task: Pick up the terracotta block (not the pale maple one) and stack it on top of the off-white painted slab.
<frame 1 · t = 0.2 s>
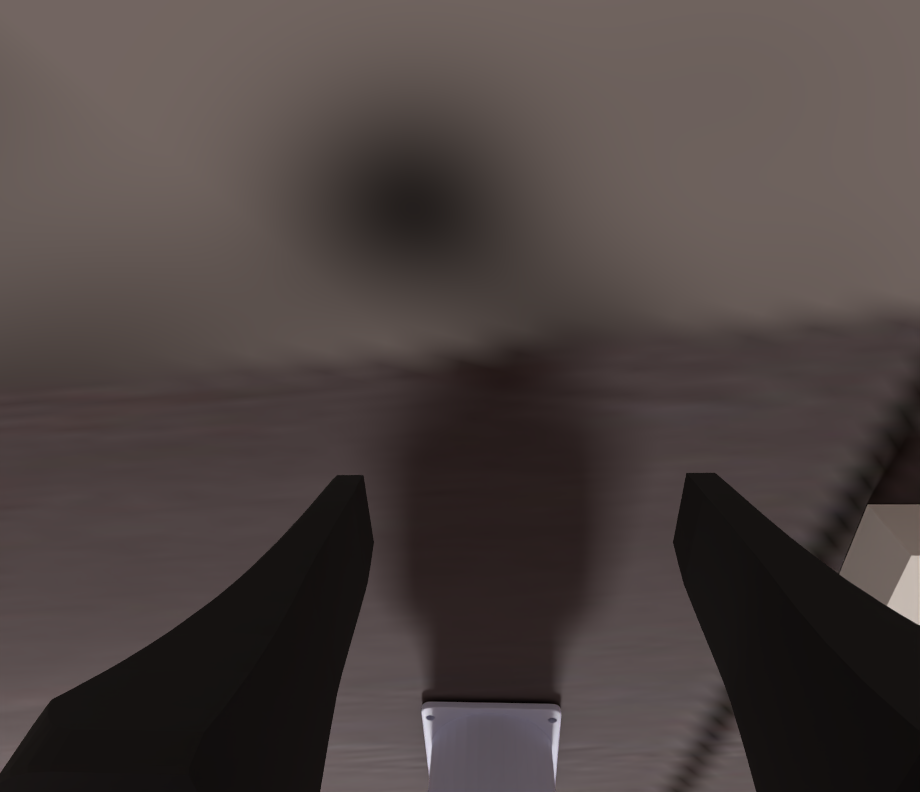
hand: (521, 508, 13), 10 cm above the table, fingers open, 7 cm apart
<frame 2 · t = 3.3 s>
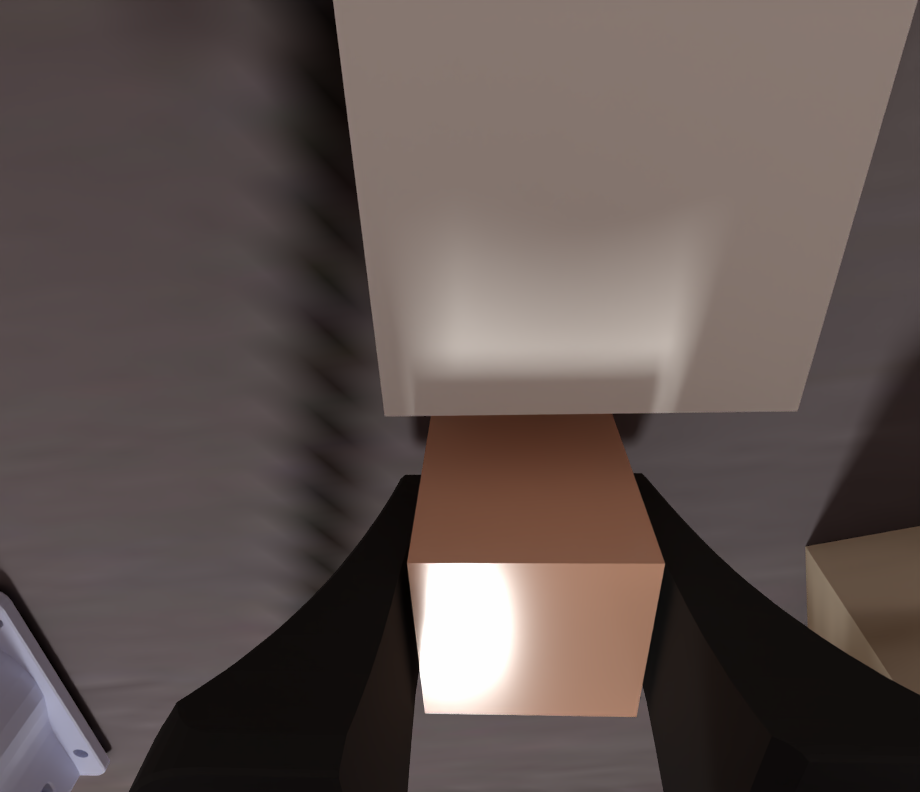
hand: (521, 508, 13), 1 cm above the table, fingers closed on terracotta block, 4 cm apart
slab: (575, 169, 11), on the table
maple block: (884, 583, 16), on the table
terracotta block: (518, 470, 14), on the table, touching gripper
when the fingers open (5 cm above the table, at t = 6.2 s): terracotta block stays where it is, resting on slab.
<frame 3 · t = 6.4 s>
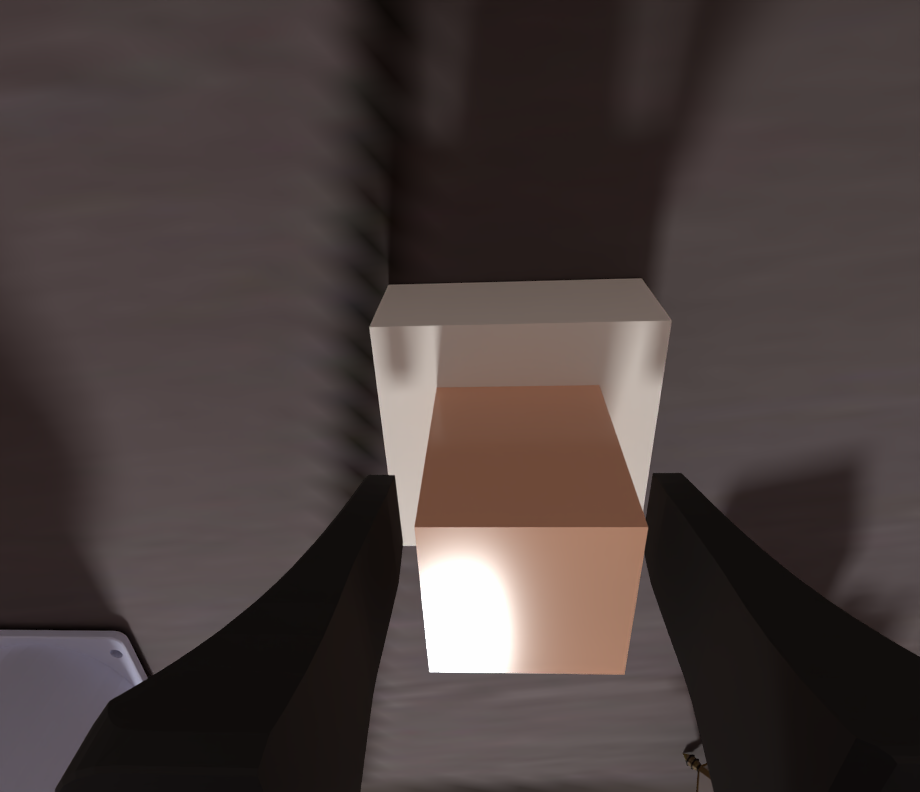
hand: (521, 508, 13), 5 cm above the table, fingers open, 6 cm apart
game die: (748, 741, 27), on the table
slab: (512, 391, 18), on the table
terracotta block: (516, 452, 15), point 3 cm above the table, touching slab
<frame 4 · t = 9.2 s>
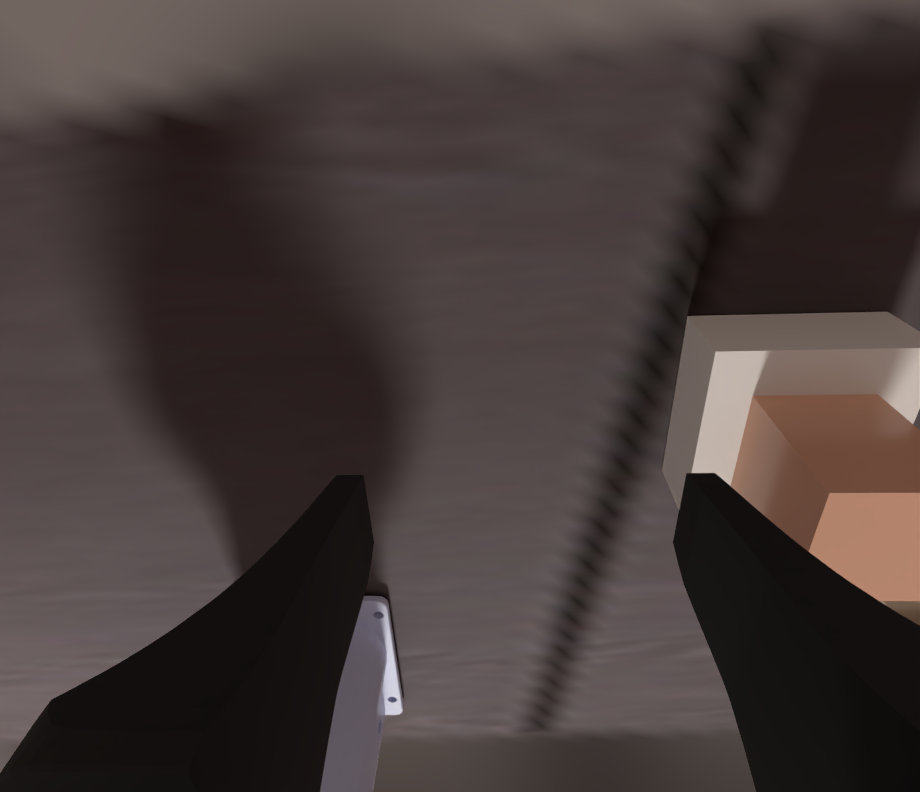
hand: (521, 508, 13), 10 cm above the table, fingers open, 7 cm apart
slab: (765, 397, 23), on the table
maple block: (906, 593, 28), on the table
terracotta block: (799, 445, 20), point 3 cm above the table, touching slab
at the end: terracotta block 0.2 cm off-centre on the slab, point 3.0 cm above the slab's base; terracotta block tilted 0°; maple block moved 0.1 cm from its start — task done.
